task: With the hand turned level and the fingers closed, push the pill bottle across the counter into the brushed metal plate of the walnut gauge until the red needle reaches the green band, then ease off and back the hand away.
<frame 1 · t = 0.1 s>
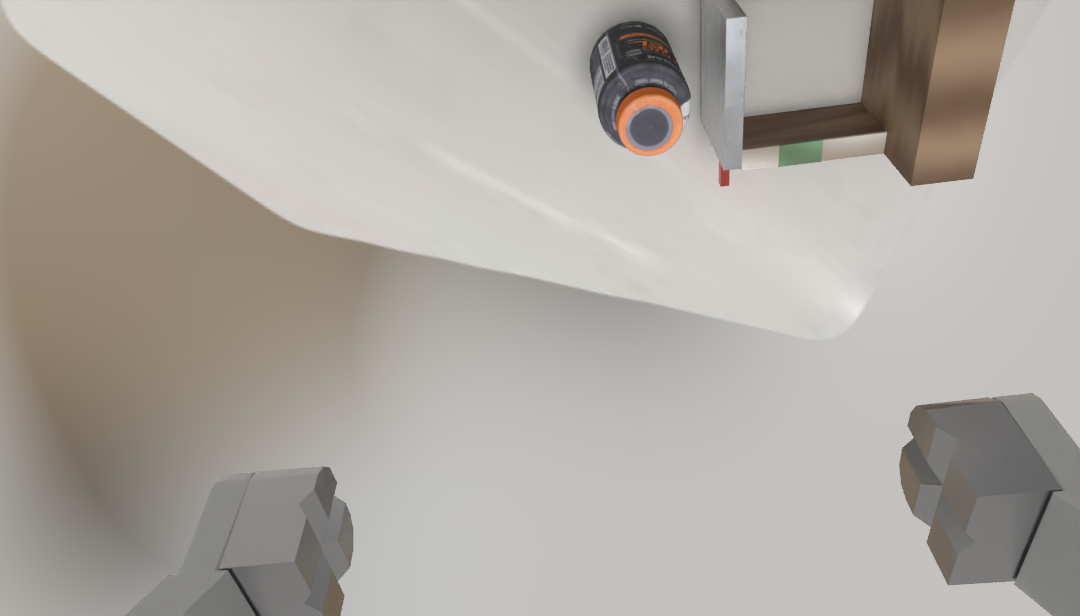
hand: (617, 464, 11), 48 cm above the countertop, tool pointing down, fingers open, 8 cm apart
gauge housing: (813, 38, 56), on the countertop
brushed metal plate: (721, 92, 53), point 5 cm above the countertop, slide at 0.0 cm
pill bottle: (629, 60, 57), on the countertop
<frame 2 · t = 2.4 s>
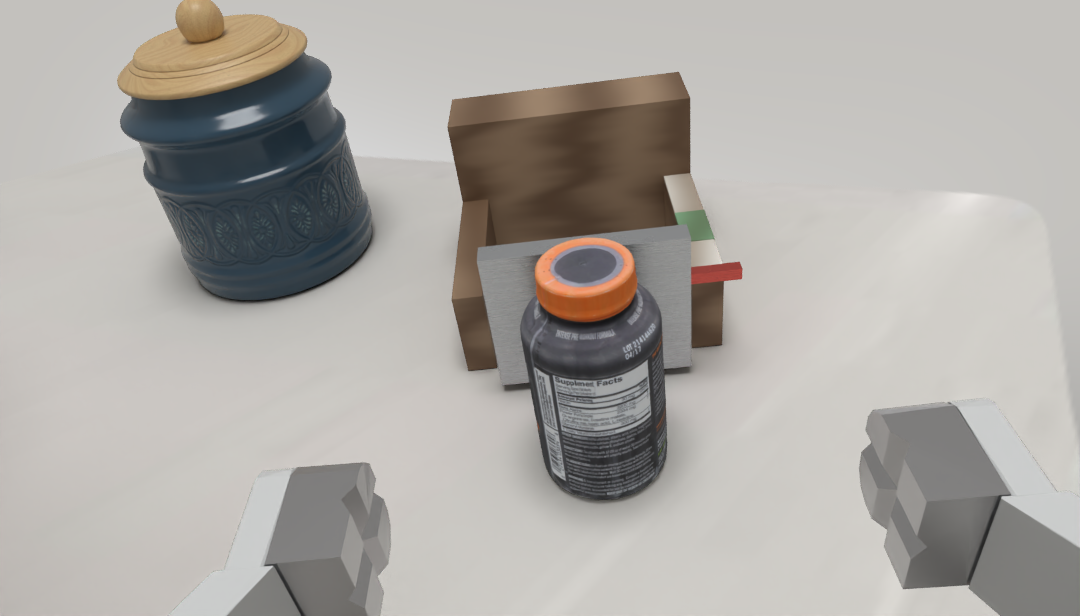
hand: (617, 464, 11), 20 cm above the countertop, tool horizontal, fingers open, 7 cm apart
canister: (288, 252, 56), on the countertop
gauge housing: (586, 292, 48), on the countertop
brushed metal plate: (613, 306, 39), point 5 cm above the countertop, slide at 0.0 cm
pill bottle: (605, 457, 38), on the countertop
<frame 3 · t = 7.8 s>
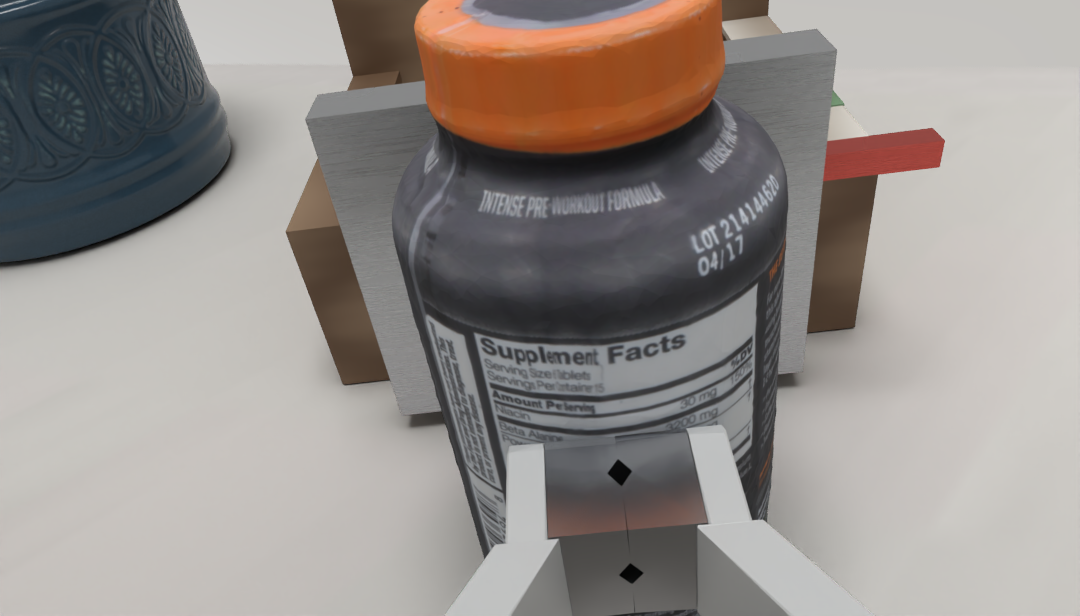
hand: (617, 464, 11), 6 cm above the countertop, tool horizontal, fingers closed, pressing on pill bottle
canister: (92, 190, 35), on the countertop
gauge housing: (579, 238, 26), on the countertop
brushed metal plate: (639, 239, 17), point 5 cm above the countertop, slide at 0.0 cm
pill bottle: (621, 537, 17), on the countertop, touching gripper
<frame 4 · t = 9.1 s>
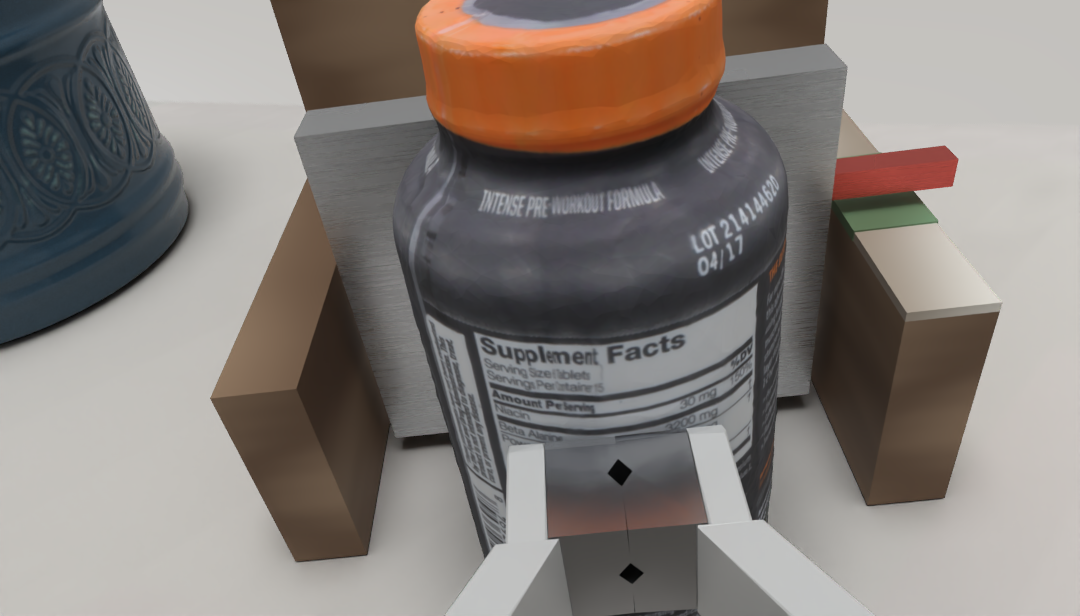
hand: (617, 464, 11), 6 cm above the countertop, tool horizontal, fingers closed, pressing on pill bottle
canister: (27, 262, 30), on the countertop
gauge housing: (591, 349, 22), on the countertop
brushed metal plate: (640, 259, 17), point 4 cm above the countertop, slide at 4.9 cm, touching pill bottle
pill bottle: (621, 538, 17), on the countertop, touching gripper, brushed metal plate
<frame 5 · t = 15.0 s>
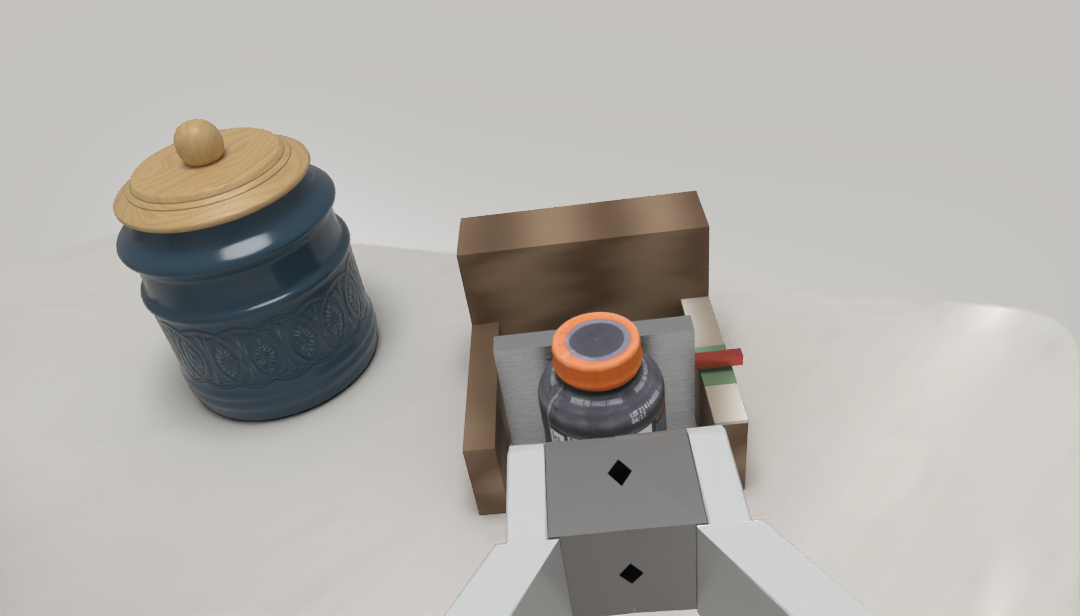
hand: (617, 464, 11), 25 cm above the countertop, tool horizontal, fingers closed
canister: (290, 360, 55), on the countertop
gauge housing: (601, 420, 46), on the countertop
brushed metal plate: (621, 388, 42), point 5 cm above the countertop, slide at 5.2 cm
pill bottle: (613, 501, 42), on the countertop
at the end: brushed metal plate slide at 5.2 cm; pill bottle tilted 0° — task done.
